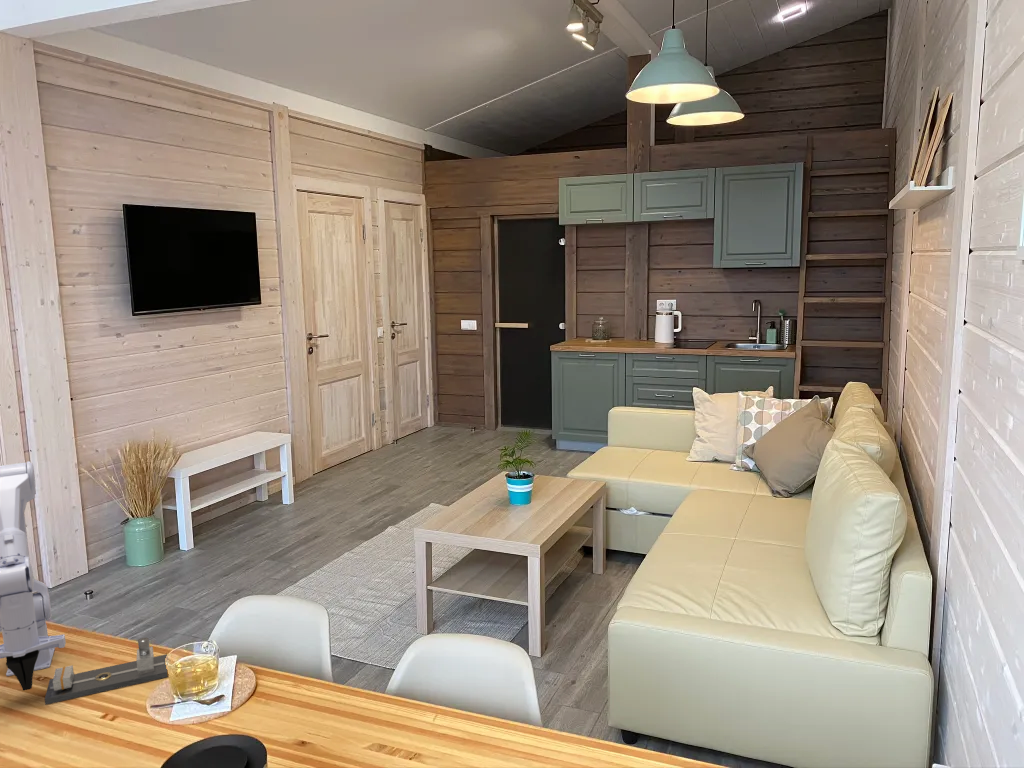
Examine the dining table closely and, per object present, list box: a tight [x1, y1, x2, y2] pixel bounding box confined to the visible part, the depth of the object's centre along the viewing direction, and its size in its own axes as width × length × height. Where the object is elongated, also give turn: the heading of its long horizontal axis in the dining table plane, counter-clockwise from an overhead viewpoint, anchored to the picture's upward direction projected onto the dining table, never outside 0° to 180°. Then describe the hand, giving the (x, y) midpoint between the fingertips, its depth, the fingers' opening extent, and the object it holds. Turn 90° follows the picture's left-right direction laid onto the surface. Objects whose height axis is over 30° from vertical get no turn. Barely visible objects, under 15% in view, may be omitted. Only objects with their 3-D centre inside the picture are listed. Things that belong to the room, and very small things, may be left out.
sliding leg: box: [52, 664, 75, 691], centre depth 154 cm, size 5×3×2 cm, turn 25°
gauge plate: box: [44, 637, 169, 706], centre depth 157 cm, size 8×22×7 cm, turn 115°
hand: (27, 687), depth 152 cm, fingers closed
